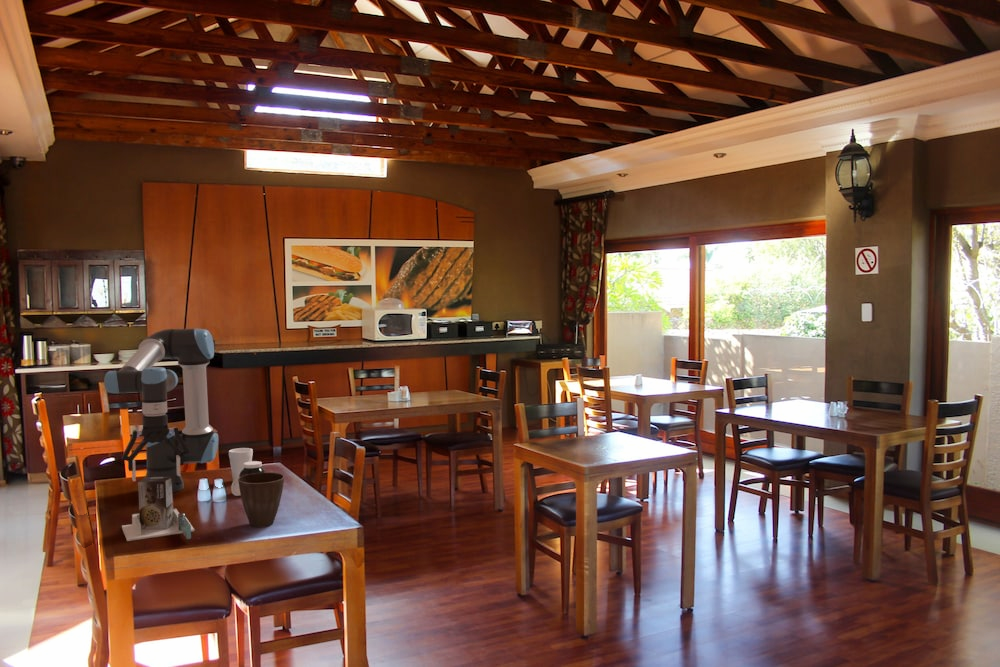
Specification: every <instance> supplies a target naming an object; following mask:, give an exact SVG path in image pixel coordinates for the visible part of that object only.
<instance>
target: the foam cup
mask: <svg viewBox="0 0 1000 667" xmlns="http://www.w3.org/2000/svg"><path fill="white" fill-rule="evenodd" d="M253 453H254V451H253V448H249V447H239V448H232V449H230V450H228V457H229V463H230V468H231V470H230V471H231V476H232V482H233V481H234V480H235V479H237V478H239V475H240V472H241V471H242V470H243V468H244V463H245V462H250V461H253V456H254V455H253Z"/></svg>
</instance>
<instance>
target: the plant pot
mask: <svg viewBox="0 0 1000 667" xmlns="http://www.w3.org/2000/svg"><path fill="white" fill-rule="evenodd" d="M238 482H239V488H240V494H241V496H240V498H241V501H242V502H241V503H242V505H243V509H244V512H245V514H246V518H247V520H248V522H249V525H250V526H251V527H254V528H265V527H269V526H272V525H274V521H275V519H276V516H277V513H278V510H279V508H280V504H281V499H282V495H283V489H284V482H285V475H284V474H282V473H278V472H266V473H254V474H248V475H244V476H242V477H240V478H239V479H238Z"/></svg>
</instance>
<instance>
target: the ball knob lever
mask: <svg viewBox="0 0 1000 667" xmlns="http://www.w3.org/2000/svg"><path fill="white" fill-rule="evenodd" d="M179 513H180V512H179ZM185 517H186V513H185V512H181V513H180V514H178V530H181V531H182V532H183V533H182V534H183V535H184V537H185V538H186V540H191V538H192V532H191V525H192V524H191V523H190V524H191V525H190V524H189V523H188V521H189V520H188V521H187V520H186V518H187V517H186V518H185Z"/></svg>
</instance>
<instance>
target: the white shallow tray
mask: <svg viewBox="0 0 1000 667" xmlns="http://www.w3.org/2000/svg"><path fill="white" fill-rule="evenodd" d="M178 514H180V512H179V511H178V509H177V508H173V520H174V524H173V525H171V526H170V527H169V528H168V529H142V530H141V524H140V518H139V513H133V514H131V524H126V525H125V524H124V525H121V530H122V532H123V535H124V536H125V539H126V542H131V541H137V540H138V541H139V540H145V539H146V540H147V539H151V538H159V537H165V536H171V535H172V536H173V535H178V534H180V535H181V534H183V532H182V531H181V530H178ZM185 518H186V520H187V521H188V523H189V524H190V525H191V533H192V532H195V528H194V527H193V525H192V524H191V522H190V521H189V519H188V518H187V517H186V516H185Z"/></svg>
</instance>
